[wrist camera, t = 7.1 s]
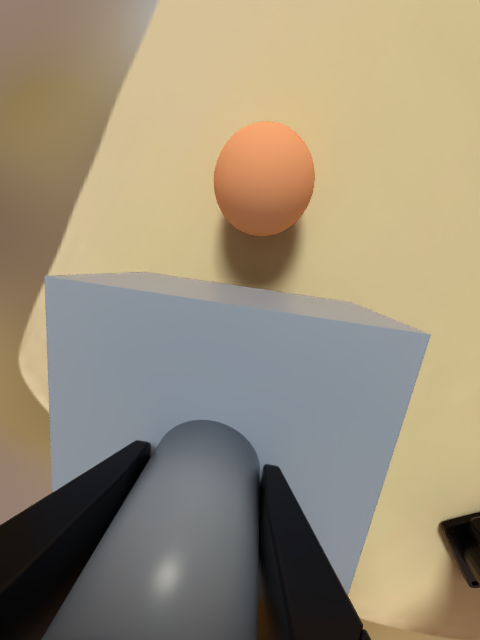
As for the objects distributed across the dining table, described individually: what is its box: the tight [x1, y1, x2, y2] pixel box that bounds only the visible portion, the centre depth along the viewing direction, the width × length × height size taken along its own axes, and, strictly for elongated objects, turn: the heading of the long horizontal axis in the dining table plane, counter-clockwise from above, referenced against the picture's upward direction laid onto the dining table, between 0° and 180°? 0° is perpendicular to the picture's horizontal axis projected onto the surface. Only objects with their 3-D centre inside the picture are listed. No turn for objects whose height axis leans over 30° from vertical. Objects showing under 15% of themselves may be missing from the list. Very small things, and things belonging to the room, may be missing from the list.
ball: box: [214, 121, 315, 236], centre depth 13 cm, size 5×5×5 cm
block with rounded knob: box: [41, 272, 431, 640], centre depth 8 cm, size 10×10×10 cm
